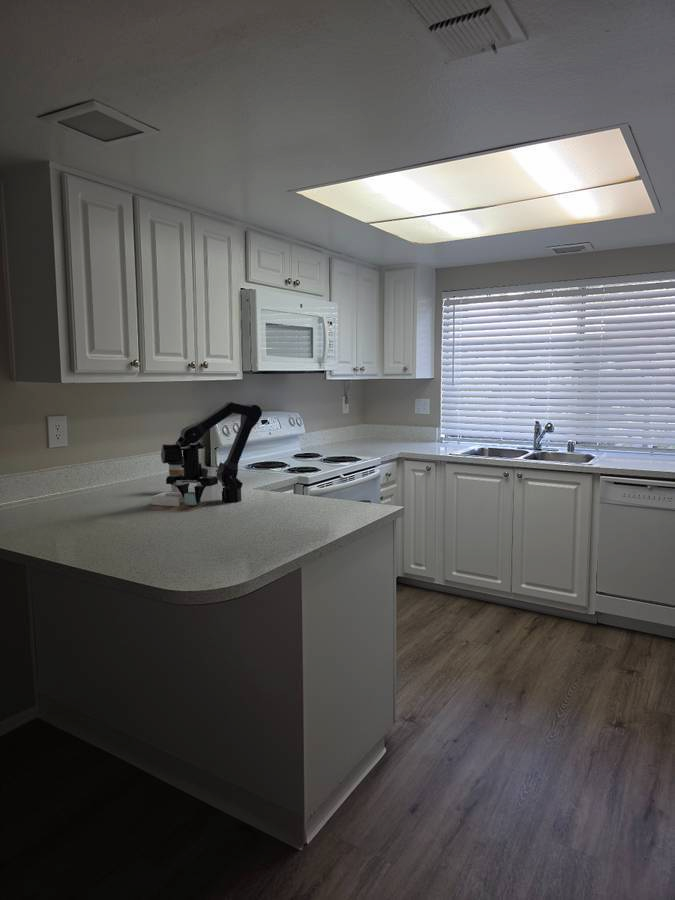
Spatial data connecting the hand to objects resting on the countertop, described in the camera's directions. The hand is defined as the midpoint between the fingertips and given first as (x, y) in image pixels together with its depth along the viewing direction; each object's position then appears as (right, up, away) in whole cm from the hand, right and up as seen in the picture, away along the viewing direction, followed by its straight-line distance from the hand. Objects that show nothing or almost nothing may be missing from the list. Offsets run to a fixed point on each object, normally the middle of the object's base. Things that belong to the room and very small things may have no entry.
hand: (192, 503), depth 229 cm
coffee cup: (-13, +2, +30) cm, 33 cm away
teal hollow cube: (0, 0, 0) cm, 0 cm away
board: (-6, -2, 0) cm, 6 cm away
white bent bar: (-9, 0, +3) cm, 9 cm away
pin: (0, -2, 0) cm, 2 cm away
